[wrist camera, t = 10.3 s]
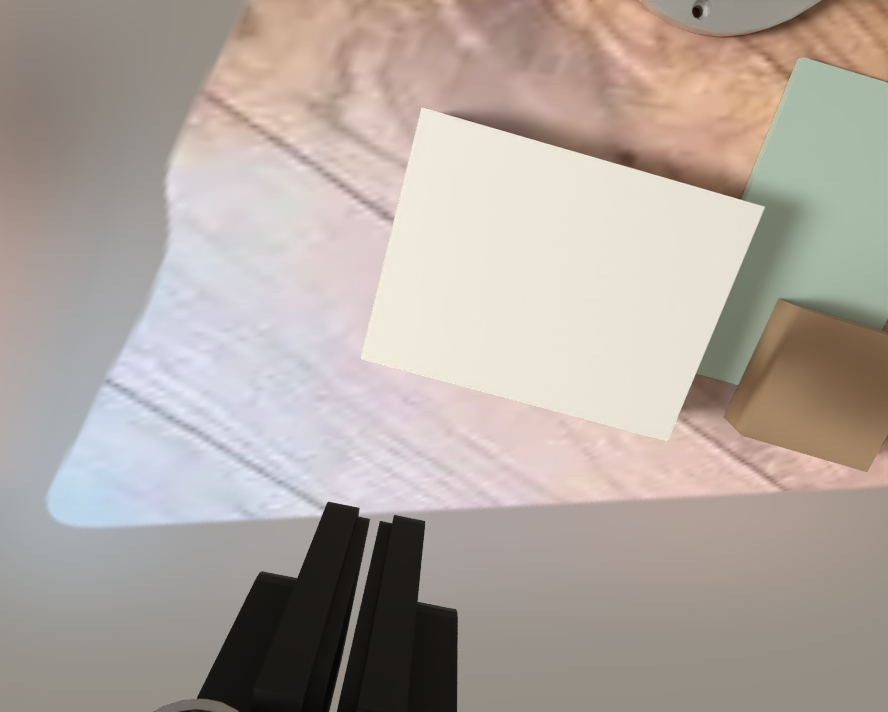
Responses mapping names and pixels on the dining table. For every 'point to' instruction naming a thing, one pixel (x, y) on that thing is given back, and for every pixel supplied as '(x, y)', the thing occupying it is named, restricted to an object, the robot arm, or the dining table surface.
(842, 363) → the block
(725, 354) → the mat
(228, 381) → the dining table surface
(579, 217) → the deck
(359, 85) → the dining table surface
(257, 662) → the robot arm
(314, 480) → the dining table surface
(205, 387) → the dining table surface
